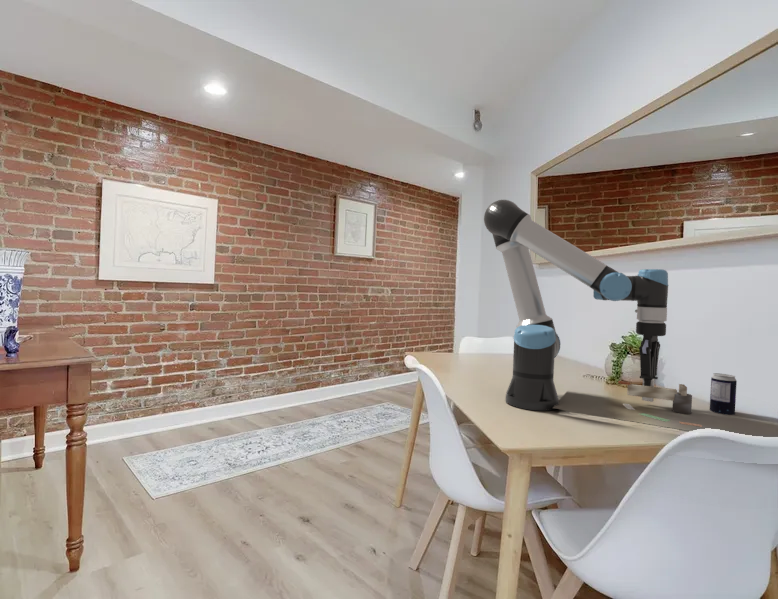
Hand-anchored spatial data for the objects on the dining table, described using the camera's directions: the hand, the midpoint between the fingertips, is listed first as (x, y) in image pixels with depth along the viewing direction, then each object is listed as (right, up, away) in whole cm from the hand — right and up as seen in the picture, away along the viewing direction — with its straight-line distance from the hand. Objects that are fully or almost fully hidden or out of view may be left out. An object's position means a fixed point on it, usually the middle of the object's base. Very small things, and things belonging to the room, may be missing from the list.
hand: (647, 400), depth 126 cm
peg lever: (0, -1, -3) cm, 4 cm away
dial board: (-3, -3, -8) cm, 9 cm away
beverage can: (+18, -4, -5) cm, 19 cm away
